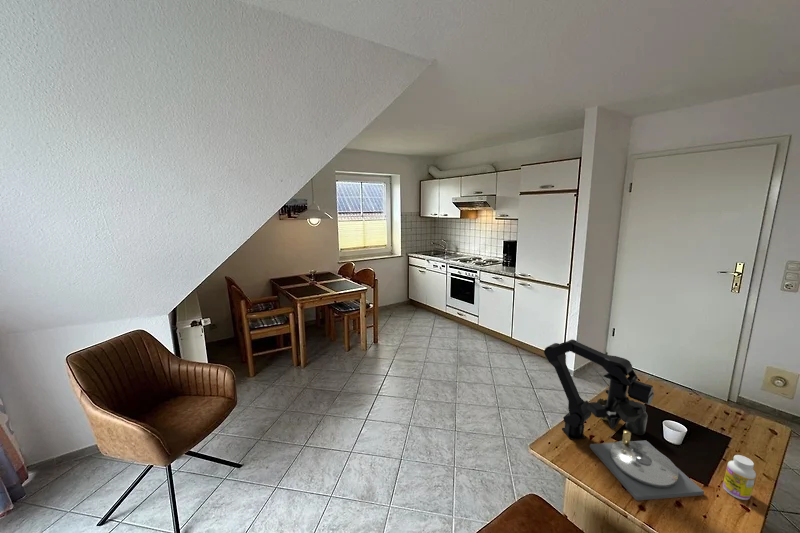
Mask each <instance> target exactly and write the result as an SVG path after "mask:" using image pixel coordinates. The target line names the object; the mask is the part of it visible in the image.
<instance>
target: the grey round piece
mask: <svg viewBox="0 0 800 533" xmlns="http://www.w3.org/2000/svg"><path fill="white" fill-rule="evenodd" d="M622 432H623V434H622V439H621V440H619V441H616V443H614V442H613V443H614V444H613V445H612V447H611V452H610V456H611V459H612V461H613V463H614V464H615V465H616V467H617V468H618V469H619V470H620V471H622V472H623V473H624V474H626V475H627V476H628V477H630V478H632V479H634V480H635V481H638V482H640V483H642V484H645V485H648V486H651V487H656V488H670V487H672V486H674V485H675V484H676V483H677V480H678V470H677V468H678V467H677V466H676V465H675V464H674V462H673V461H672V460H671V459H670V458H669V457H667V456H666V455H665V454H663V453H662V452H660V451H659V450H658V449H657V450H658V451H657V450H655V449H656V448H655V449H653V448H651V447H649V446H647V445H644V444H641V443H638V442H633V440H631V438H632V437H631V436H632V433H631V432H630V431H628V430H627V429H623V431H622ZM676 467H677V468H676Z"/></svg>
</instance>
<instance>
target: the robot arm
mask: <svg viewBox="0 0 800 533" xmlns="http://www.w3.org/2000/svg"><path fill="white" fill-rule="evenodd" d="M569 352H571V353H573V354H575V355H578V356H580V357H582V358H583V359H586V360H587V361H588V360H589V361H590V362H592V363H595V364H597V365H599V366H600V367H602V368H603V369H604V370H605V371H606V372H607V373H605V374H604V375H603V377H604V378H606V379H609V383H608V384H609V385H608V389H606V390H605V394H607V399H604V400H605V401H604V402H605V403H606V404H607V405H603V406H602V405H601V404H600V403H599V402H597V401H595V402H594V401H592V402H589V401H588V400H584V399H582V397H581V396H580V393H579V391H578V389H577V386H576V384H575V382H574V380H573V377H572V374H571V372H570V370H569V368H568V366H567V354H568V353H569ZM566 353H567V354H566ZM543 354H544V357H545V358H546V360H547V362H548V363H549V364H550V365H552V366H553V367H554V370H555V372H556V374H557V377H558V379H559V381H560V384H561V387H562V389H563V391H564V393H565V395H566V398H567V401H568V403H567V404H568V408H567V409H568V413H566V414H565V415H564V416H563V417H562V419H563V422H564V427H561V430H562V431H563V432H564V434H566V435H565V436H567V437H568V438H569V440H579V439H580V440H581V439H583V440H584V439H585V438H586V436H584V432H585V422H586V421H587V420H588V419H589V418H590V417H591V416H592V415H594V416H595V417H596V418H597V419H598V418H600V419H601V418H602V417H607V419H608V421H607V422H608V424H609V428H611V429H612V430H614V429H615V428H616V427H617V425H618V424H619V422H620V421H622V422H623V423H624V422H625V423H626V422H631V421H632V422H634V421H635V420H636V419H637V418H641V415H643V411H644V410H643V408H642V407H641V406H640V405H639V404H637V403H636V402H639V403H642V404H644V405H648V406H650V405H651V404H652V402H653V399H654V395H655V393H654V388H653V387H654V386H653V385H651V384H648V383H646V382H645V383H644V382H641V381H639V380H638V379H639V377H638V376H637V374H636V372H635V370H634V369H633V365H632V363H631V361H629V360H628V359H627V358H624V357H620V356H617V355H609V354H605V352H604V353H603V352H602V351H599V350H596V349H594V348H592V347H590V346H588V345H586V344H583V343H580V342H579V341H577V340H576V339H570V340H567V341H564V342H561V343H558V342H554V343H552V344H550V345H548V346H546V347H545V348H544V350H543ZM627 376H628V377H627ZM627 395H628V396H627ZM629 397H630V398H629ZM630 399H631V400H630ZM634 400H635V401H634Z"/></svg>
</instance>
